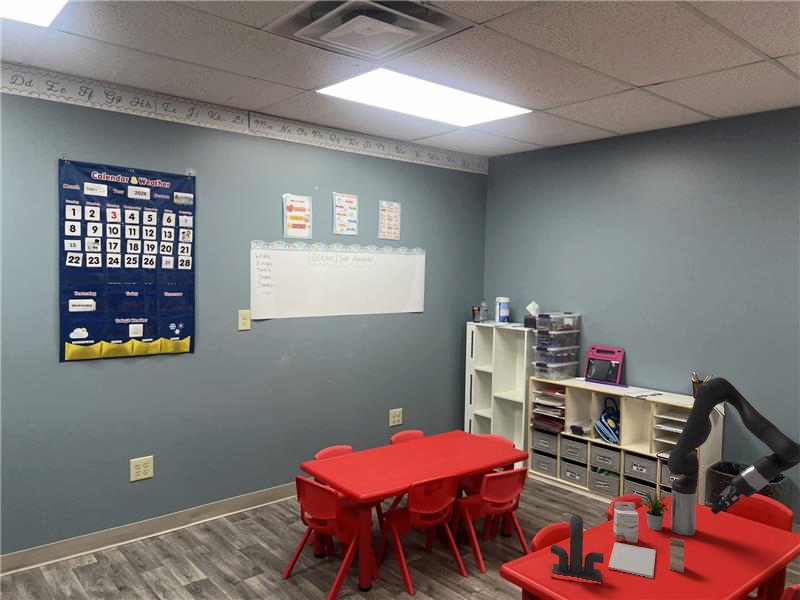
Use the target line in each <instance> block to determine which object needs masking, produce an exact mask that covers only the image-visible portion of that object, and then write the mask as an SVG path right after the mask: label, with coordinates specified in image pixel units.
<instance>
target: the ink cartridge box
mask: <svg viewBox="0 0 800 600" xmlns="http://www.w3.org/2000/svg"><path fill="white" fill-rule="evenodd" d="M625 505H626V506H625ZM612 531H613V535H614V536H613V535H612V536H613V538H614V537H615V538H614V540H615V539H616V540H622V541H632V542H631V543H638V539H639V538H638V537H639V513H638V512H637V510H636V502H632V501H631V502H629V501H628V502H627V501H615V502H614V509H613V530H612ZM616 540H615V541H616ZM622 541H621V542H622Z"/></svg>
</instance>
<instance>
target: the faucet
mask: <svg viewBox="0 0 800 600" xmlns="http://www.w3.org/2000/svg"><path fill="white" fill-rule="evenodd" d="M569 532H570V533H569V554H568V552H567V550H566V549H565V548H563V547H562V546H559V545H558V544H556V543H552V545H550V553H552V555H556V556H557V557H558V563H552V564H553V569H552V573H553V574H557V575H563V576H571V577H577V578H582V579H586V580H592V581H597V582H602V583H603V580H602V579H603V578H602V571H601V570H600V569H599V568H595V563H598V564H604V553H602V552H593V551H591V552H589V553H587V554H586V555H585V556H583V555H584V554H583V553H584V552H583V551H584V550H583V549H584V521H583V518H582V516H581V515H579V514H576V513H575V514H572V515H571V516H570V519H569ZM583 557H584V558H583ZM583 559H584V564H583ZM583 565H584V566H583Z"/></svg>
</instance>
